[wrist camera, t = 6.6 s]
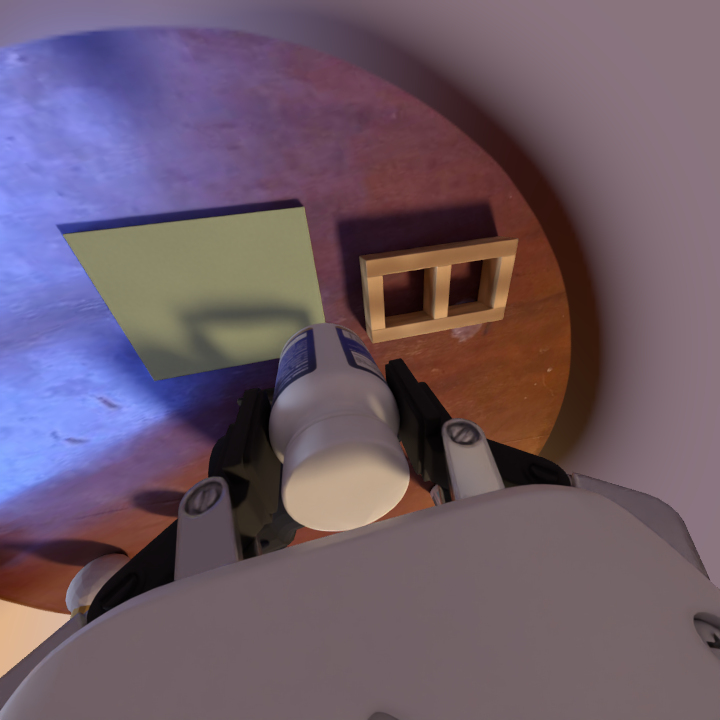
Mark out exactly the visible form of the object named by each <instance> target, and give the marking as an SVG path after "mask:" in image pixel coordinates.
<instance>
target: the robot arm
mask: <svg viewBox="0 0 720 720" xmlns="http://www.w3.org/2000/svg"><path fill="white" fill-rule="evenodd" d="M385 370H386V382H387V384H388V386H389V387H390V389H391V391H392V393H393V395H394V397H395V399H396V402H397V405H398V408H399V413H400V426H399V431H398V434H399V437H400V439H401V441H402V443H403V446H404V448H405V450H406V452H407V455H408V457H409V459H410V461H411V464H412V466H413V468H414V470H415V472H416V474H417V475H418V474H421V476H422V478H423V480H424V482H425V481H429V480H431V482H433V483H435V484H437V485H438V490H439V497H440V503H441V505H438V506H434V507H431V508H427V509H423V510H420V511H416V512H412V513H409V514H405V515H401V516H398V517H394V518H391V519H387V520H383V521H380V522H376V523H373V524H369V525H366V526H362V527H358V528H355V529H351V530H348V531H344V532H341V533H337V534H334V535H330V536H326V537H323V538H319V539H316V540H312V541H309V542H305V543H302V544H298V545H295V546H291V547H288V548H284V549H281V550H277V551H274V552H270V553H267V554H263V553H262V548H261V544H260V539H259V534H258V533H259V531H260V530H261V529H262V528H263V525H265V524H268V523H272V517H273V513H274V512H277V509H278V496H279V483H280V469H281V462H280V460H279V459H278V458H277V456H276V455H275V453H274V451H273V449H272V446H271V443H270V439H269V418H270V412H271V404H270V401H269V399H268V396H267V394H266V391H265V390H261V389H260V388H255V389H250V390H246V391H245V392H244V396H243V399H242V402H241V406H240V409H239V412H238V416H237V419H236V422H235V423H233V424H231V425H230V426H229V428H228V430H227V433H226V436H225V439H224V442H223V446H222V449H221V452H220V455H219V458H218V461H217V464H216V467H215V470H214V473H213V476H212V477H209V478H207V479H204V480H202V481H200V482H199V483H197V484H195V485H194V486H193V487H192V488H191V489H189V491H188V492H187V493H186V494H185V495H184V497H183V498H182V500H181V502H180V505H179V509H178V519H177V520H175V521H174V522H173V523H172V524H171V525H170V526H169V527H167V528H166V529H165V530H164V531H163V532H162V533H161V534H160V535H158V536H157V537H156V538H155V539H154V540H153V541H152V542H150V543H149V544H148V545H147V546H146V547H145V548H144V549H142V550H141V551H140V552H139V553H138V554H137V555H136V556H135V557H133V558H132V559H131V560H130V561H129V562H128V563H127V564H125V565H124V566H123V567H122V568H121V569H120V570H119V571H117V572H116V573H115V574H114V575H113V576H112V577H111V578H110V579H109V580H108V581H107V582H106V583H105V584H104V585H103V586H102V588H101V589H100V590H99V592H98V593H97V594H96V596H95V597H94V599H93V601H92V603H91V605H90V607H89V610H88V611H86V612H85V613H84V614H83V613H81V612H79V613H77V614H76V615H75V616H74V617H73V618H71V619H70V620H69V621H68V622H67V623H65V624H64V625H63V626H62V627H61V628H59V629H58V630H57V631H56V632H55V633H54V634H53V635H51V636H50V637H49V638H48V639H46V640H45V641H44V642H43V643H42V644H40V645H39V646H38V647H37V648H36V649H34V650H33V651H32V652H31V653H30V654H28V655H27V656H26V657H25V658H24V659H22V660H21V661H20V662H19V663H18V664H17V665H15V666H14V667H13V668H12V669H11V670H9V671H8V672H7V673H6V674H5V675H3V676H2V677H1V678H0V720H720V589H719V588H718V587H716V586H715V585H714V584H713V583H712V582H711V581H710V579H709V577H708V574H707V572H706V570H705V568H704V565H703V563H702V561H701V559H700V556H699V554H698V552H697V550H696V547H695V545H694V543H693V541H692V539H691V536H690V534H689V532H688V530H687V527H686V525H685V523H684V521H683V520H682V518H681V517H680V515H679V514H678V513H677V512H676V511H675V510H674V509H673V508H672V507H670V506H669V505H668V504H666V503H664V502H663V501H661V500H660V499H658V498H656V497H653V496H651V495H648V494H646V493H642V492H639V491H636V490H632V489H629V488H625V487H622V486H619V485H615V484H612V483H608V482H605V481H602V480H598V479H595V478H592V477H588V476H585V475H581V474H578V473H575V472H573V473H572V475H569V474H566V472H565V471H564V470H563V469H561V468H560V467H559V466H558V465H556V464H555V463H553V462H552V461H549V460H547V459H545V458H542V457H539V456H536V455H533V454H530V453H527V452H524V451H521V450H518V449H516V448H513V447H510V446H507V445H504V444H501V443H498V442H495V441H492V440H489V439H486V437H485V434H484V432H483V430H482V429H481V428H480V427H479V426H478V425H477V424H476V423H474V422H472V421H470V420H467V419H462V418H455V419H452V418H451V416H450V415H449V414H448V412H447V411H446V410H445V408H444V407H443V406H442V404H441V403H440V401H439V400H438V399H437V397H436V396H435V395H434V393H433V392H432V391H431V389H430V388H429V387H428V385H427V384H426V383H425V382H420V383H418V382H417V380H416V379H415V377H414V376H413V374H412V373H411V372H410V370H409V369H408V367H407V366H406V364H405V363H404V361H403V360H402V359H396V360H391V361H389V364H386V365H385Z"/></svg>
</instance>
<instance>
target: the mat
mask: <svg viewBox="0 0 720 720" xmlns="http://www.w3.org/2000/svg"><path fill="white" fill-rule="evenodd" d="M63 236H64V238H65V239H66V241H67V242H68V244H69V246H70V247H71V249H72V250H73V252H74V254H75V255H76V257H77V258H78V260H79V261H80V263H81V265H82V266H83V268H84V269H85V271H86V273H87V274H88V276H89V277H90V279H91V281H92V282H93V284H94V285H95V287H96V289H97V290H98V292H99V293H100V295H101V297H102V298H103V300H104V301H105V303H106V304H107V306H108V308H109V309H110V311H111V312H112V314H113V316H114V317H115V319H116V320H117V322H118V324H119V325H120V327H121V328H122V330H123V332H124V333H125V335H126V336H127V338H128V339H129V341H130V343H131V344H132V346H133V347H134V349H135V351H136V352H137V354H138V355H139V357H140V359H141V360H142V362H143V363H144V365H145V367H146V368H147V370H148V371H149V373H150V374H151V376H152V378H153V379H154V381H157V380H163V379H168V378H173V377H179V376H184V375H190V374H195V373H200V372H206V371H211V370H217V369H222V368H227V367H233V366H238V365H244V364H249V363H254V362H260V361H265V360H271V359H276V358H280V357H281V353H282V351H283V348H284V346H285V345H286V343H287V342H288V340H289V339H290V338H291V337H292V336H293V335H294V334H295V333H297V332H298V331H300V330H301V329H303V328H305V327H307V326H310V325H314V324H318V323H325V318H324V313H323V307H322V302H321V296H320V291H319V285H318V280H317V274H316V269H315V264H314V258H313V253H312V247H311V242H310V236H309V231H308V225H307V220H306V214H305V209H304V207H295V208H286V209H278V210H269V211H260V212H251V213H242V214H234V215H225V216H216V217H207V218H199V219H190V220H181V221H172V222H164V223H155V224H146V225H137V226H129V227H120V228H111V229H102V230H94V231H85V232H76V233H67V234H63Z"/></svg>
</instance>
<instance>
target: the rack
mask: <svg viewBox="0 0 720 720" xmlns="http://www.w3.org/2000/svg"><path fill="white" fill-rule="evenodd" d="M517 244H518V238H510V237H501V236H496V237H489V238H482V239H475V240H468V241H461V242H454V243H447V244H440V245H433V246H426V247H419V248H412V249H404V250H397V251H390V252H383V253H376V254H369V255H362V256H359V259H360V270H361V280H362V291H363V301H364V312H365V322H366V332H367V334H368V336H369V338H370V339H371V341H372V343H378V342H383V341H388V340H394V339H399V338H404V337H410V336H415V335H420V334H426V333H431V332H437V331H442V330H447V329H453V328H458V327H463V326H469V325H474V324H479V323H485V322H490V321H496V320H501V319H503V316H504V310H505V306H506V300H507V295H508V290H509V285H510V280H511V275H512V270H513V265H514V260H515V254H516V249H517ZM477 260H483V264H482V271H481V278H480V286H479V293H478V300H477V301H475V302H470V303H464V304H458V305H453V306H448V300H449V287H450V274H451V264H457V263H464V262H470V261H477ZM418 269H424V292H423V311H418V312H412V313H407V314H401V315H395V316H390V317H385V313H384V295H383V276H382V275H385V274H392V273H399V272H405V271H412V270H418Z"/></svg>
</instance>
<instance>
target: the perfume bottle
mask: <svg viewBox="0 0 720 720" xmlns="http://www.w3.org/2000/svg"><path fill="white" fill-rule="evenodd" d="M130 560H131V559H130V558H129V557H127V556H125V555H124V554H116V553H113V554H107V555H103V556H101V557H98V558H97V559H95V560H93V561H91V562H90V563H88V564H87V565H86V566H85V567H84V568H82V569H81V570H80V571H79V572H78V574H77V575H76V576H75V578H74V579H73V580H72V582H71V584H70V586H69V588H68V590H67V595H66V604H67V608H68V609H69V610H70V612H71V613H72V614H71V618H73V617H74V616H75V615H76V614H77V613H79V612H81V613H83V614H84V613H85V612H86V611H88V610H89V607H90V605H91V603H92V601H93V599H94V597H95V596H96V594H97V593H98V592H99V590H100V589H101V588H102V586H103V585H104V584H105V583H106V582H107V581H108V580H109V579H110V578H111V577H112V576H113V575H114V574H115V573H116V572H117V571H119V570H120V569H121V568H122V567H123V566H124V565H125V564H127V563H128V562H129V561H130ZM71 618H70V619H71Z"/></svg>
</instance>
